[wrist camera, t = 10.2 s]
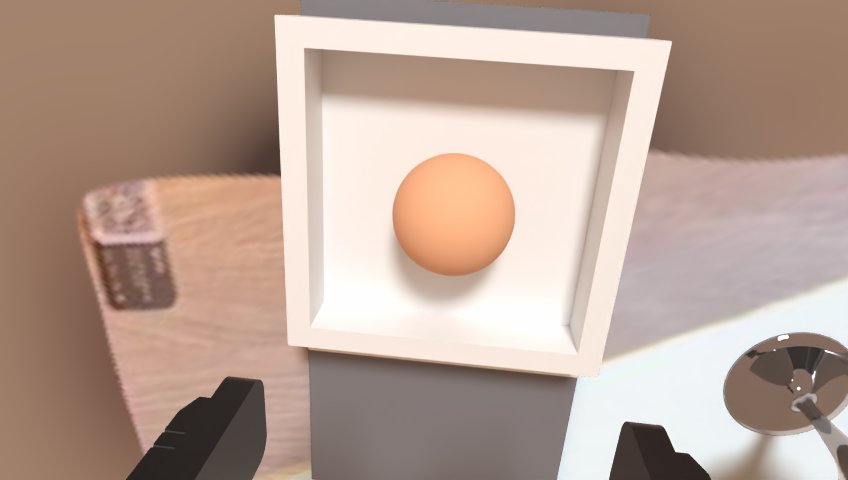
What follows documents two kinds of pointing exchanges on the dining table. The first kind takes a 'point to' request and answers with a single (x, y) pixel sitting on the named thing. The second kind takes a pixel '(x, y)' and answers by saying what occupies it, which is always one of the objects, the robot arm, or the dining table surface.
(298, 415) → the dining table surface
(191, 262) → the dining table surface
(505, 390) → the mat
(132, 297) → the dining table surface
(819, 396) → the wine glass
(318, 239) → the tray
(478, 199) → the ball
